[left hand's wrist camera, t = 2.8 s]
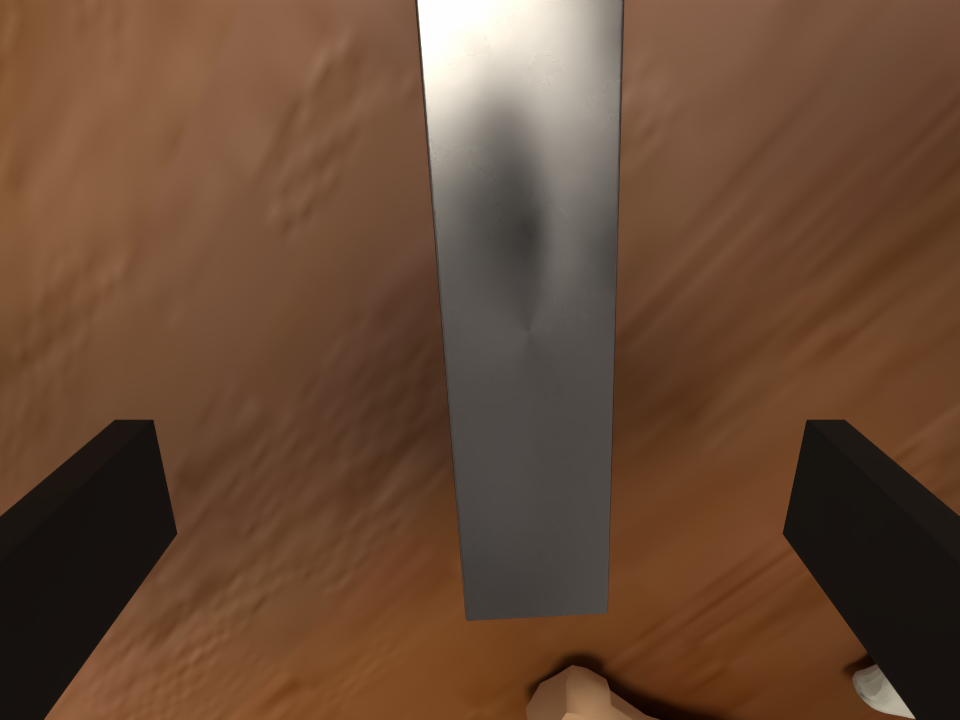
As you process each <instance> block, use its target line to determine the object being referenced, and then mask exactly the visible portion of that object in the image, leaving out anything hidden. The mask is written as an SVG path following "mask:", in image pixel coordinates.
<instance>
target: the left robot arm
mask: <svg viewBox="0 0 960 720" xmlns="http://www.w3.org/2000/svg"><path fill="white" fill-rule="evenodd" d="M176 535H177V530H176V526H175V521H174V516H173V511H172V507H171V502H170V497H169V492H168V488H167V483H166V478H165V473H164V468H163V464H162V459H161V454H160V449H159V445H158V440H157V435H156V430H155V426H154V421H153V420H114V421H113V422H112V423H111V424H110V425H108V426H107V427H106V428H105V429H104V430H102V431H101V432H100V433H99V434H98V435H97V436H95V437H94V438H93V439H92V440H91V441H89V442H88V443H87V444H86V445H85V446H83V447H82V448H81V449H80V450H79V451H78V452H76V453H75V454H74V455H73V456H72V457H70V458H69V459H68V460H67V461H66V462H65V463H63V464H62V465H61V466H60V467H59V468H57V469H56V470H55V471H54V472H53V473H51V474H50V475H49V476H48V477H47V478H46V479H44V480H43V481H42V482H41V483H40V484H38V485H37V486H36V487H35V488H34V489H32V490H31V491H30V492H29V493H28V494H27V495H25V496H24V497H23V498H22V499H21V500H19V501H18V502H17V503H16V504H15V505H13V506H12V507H11V508H10V509H9V510H8V511H6V512H5V513H4V514H3V515H2V516H0V720H44V719H45V717H46V716H47V714H48V713H49V712H50V710H51V709H52V708H53V706H54V705H55V703H56V702H57V701H58V699H59V698H60V696H61V695H62V694H63V692H64V691H65V689H66V688H67V687H68V685H69V684H70V682H71V681H72V680H73V678H74V677H75V676H76V674H77V673H78V671H79V670H80V669H81V667H82V666H83V664H84V663H85V662H86V660H87V659H88V657H89V656H90V655H91V653H92V652H93V650H94V649H95V648H96V646H97V645H98V643H99V642H100V641H101V639H102V638H103V637H104V635H105V634H106V632H107V631H108V630H109V628H110V627H111V625H112V624H113V623H114V621H115V620H116V618H117V617H118V616H119V614H120V613H121V611H122V610H123V609H124V607H125V606H126V605H127V603H128V602H129V600H130V599H131V598H132V596H133V595H134V593H135V592H136V591H137V589H138V588H139V586H140V585H141V584H142V582H143V581H144V579H145V578H146V577H147V575H148V574H149V573H150V571H151V570H152V568H153V567H154V566H155V564H156V563H157V561H158V560H159V559H160V557H161V556H162V554H163V553H164V552H165V550H166V549H167V547H168V546H169V545H170V543H171V542H172V540H173V539H174V538H175V536H176ZM783 535H784V536H785V538H786V539H787V540H788V542H789V543H790V545H791V546H792V547H793V549H794V550H795V552H796V553H797V554H798V556H799V557H800V559H801V560H802V561H803V563H804V564H805V566H806V567H807V568H808V570H809V571H810V573H811V574H812V575H813V577H814V578H815V579H816V581H817V582H818V584H819V585H820V586H821V588H822V589H823V591H824V592H825V593H826V595H827V596H828V598H829V599H830V600H831V602H832V603H833V605H834V606H835V607H836V609H837V610H838V611H839V613H840V614H841V616H842V617H843V618H844V620H845V621H846V623H847V624H848V625H849V627H850V628H851V630H852V631H853V632H854V634H855V635H856V637H857V638H858V639H859V641H860V642H861V643H862V645H863V646H864V648H865V649H866V650H867V652H868V653H869V655H870V656H871V657H872V659H873V660H874V662H875V663H876V664H877V666H878V667H879V669H880V670H881V671H882V673H883V674H884V676H885V677H886V678H887V680H888V681H889V682H890V684H891V685H892V687H893V688H894V689H895V691H896V692H897V694H898V695H899V696H900V698H901V699H902V701H903V702H904V703H905V705H906V706H907V708H908V709H909V710H910V712H911V713H912V714H913V716H914V717H915V719H916V720H960V516H958V515H957V514H956V513H955V512H954V511H952V510H951V509H950V508H949V507H948V506H947V505H945V504H944V503H943V502H942V501H941V500H939V499H938V498H937V497H936V496H935V495H933V494H932V493H931V492H930V491H929V490H928V489H926V488H925V487H924V486H923V485H922V484H920V483H919V482H918V481H917V480H916V479H914V478H913V477H912V476H911V475H910V474H909V473H907V472H906V471H905V470H904V469H903V468H901V467H900V466H899V465H898V464H897V463H895V462H894V461H893V460H892V459H891V458H890V457H888V456H887V455H886V454H885V453H884V452H882V451H881V450H880V449H879V448H878V447H877V446H875V445H874V444H873V443H872V442H871V441H869V440H868V439H867V438H866V437H865V436H863V435H862V434H861V433H860V432H859V431H858V430H856V429H855V428H854V427H853V426H852V425H850V424H849V423H848V422H847V421H846V420H807V421H806V426H805V430H804V435H803V440H802V445H801V449H800V454H799V459H798V464H797V468H796V473H795V478H794V483H793V488H792V492H791V497H790V502H789V507H788V511H787V516H786V521H785V526H784V530H783Z"/></svg>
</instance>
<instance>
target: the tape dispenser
mask: <svg viewBox="0 0 960 720" xmlns="http://www.w3.org/2000/svg"><path fill="white" fill-rule="evenodd" d="M852 680H853V685H854V687H855V689H856V692H857V693H858V694H859V695H860V697H861V698H862V699H863V700H864V701H865V702H866V703H867V704H868V705H869V706H871V707H872V708H874V709H876V710H878V711H881V712H884V713H888V714H894V715H899V716H904V717H909V718H913V719H915V717H914V716H913V714H912V713H911V712H910V710H909V709H908V708H907V706H906V705H905V703H904V702H903V701H902V699H901V698H900V696H899V695H898V694H897V692H896V691H895V689H894V688H893V687H892V685H891V684H890V682H889V681H888V680H887V678H886V677H885V676H884V674H883V673H882V671H881V670H880V669H879V667H878V666H877V664H875V665H873V666H871V667H868V668H866V669H863V670H860V671H856V672H855V674H854V675H853V678H852Z"/></svg>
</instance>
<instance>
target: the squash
mask: <svg viewBox="0 0 960 720" xmlns="http://www.w3.org/2000/svg"><path fill="white" fill-rule="evenodd" d="M525 710H526V714H527V719H528V720H659V719H656V718H653V717H650V716H647V715H645V714H643V713H642V712H641V711H639V710H638V709H636V708H635V707H633V706H632V705H630V704H629V703H628V702H626V701H625V700H623V699H622V698H620V697H619V696H617V695H616V694H615V693H613V692H612V691H610V689H609V686H608V683H607V680H606V679H605V678H603V677H601V676H599V675H598V674H596V673H594V672H592V671H591V670H589V669H587V668H584V667H579V666H575V665H571V666H570V667H568V668H567V669H565V670H564V671H562V672H560V673H559V674H557V675H555V676H553V677H552V678H550V679H548V680H546V681H544V682H542V683H540V684H539V686H538V688H537V690H536V692H535V693H534V695H533V697H532V699H531V700H530V702H529V704H528V706H527V707H526V709H525Z"/></svg>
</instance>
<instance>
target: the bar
mask: <svg viewBox="0 0 960 720" xmlns="http://www.w3.org/2000/svg"><path fill="white" fill-rule="evenodd" d="M415 4H416V17H417V29H418V41H419V53H420V66H421V78H422V90H423V102H424V115H425V127H426V139H427V151H428V164H429V176H430V188H431V200H432V212H433V225H434V237H435V249H436V261H437V274H438V286H439V298H440V310H441V323H442V335H443V347H444V359H445V372H446V384H447V396H448V408H449V420H450V433H451V445H452V457H453V469H454V482H455V494H456V506H457V518H458V531H459V543H460V555H461V567H462V580H463V592H464V604H465V616H466V620H467V621H471V620H490V619H509V618H527V617H546V616H565V615H584V614H603V613H607V612H608V582H609V545H610V509H611V472H612V435H613V398H614V361H615V324H616V287H617V250H618V213H619V176H620V139H621V102H622V65H623V28H624V0H415Z"/></svg>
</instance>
